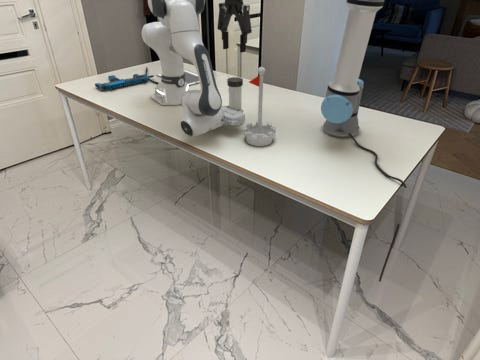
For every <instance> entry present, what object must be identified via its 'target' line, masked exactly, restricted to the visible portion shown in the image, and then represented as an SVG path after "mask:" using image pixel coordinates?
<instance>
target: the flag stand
mask: <svg viewBox="0 0 480 360" xmlns="http://www.w3.org/2000/svg"><path fill="white" fill-rule="evenodd" d="M257 74H258V75H257V76H256V77H254V78H252V79H251V80H250V81H248V84H252V85H253V86H256V87H258V104H257V105H258V108H257V109H258V112H257V121H256V122H255V124H253V123H252V122H249V123H246V124H245V125H246V126H244V127H243V135H244V137H245V141H246V143H248V145H252V146H256V147H263V146H268V145H270V144H272V143H273V138H274V137H275V136H276V127H275V126H273V124H272V123H269V122H267V123H266V124H263V101H264V100H263V95H264V75H265V74H266V68H265V67H263V66H260V67H258V68H257Z"/></svg>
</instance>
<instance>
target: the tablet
mask: <svg viewBox="0 0 480 360" xmlns="http://www.w3.org/2000/svg"><path fill="white" fill-rule="evenodd" d="M184 73H185V76H186V81H185V82H186V83H187V86H189V87H190V86H192V85H197V84H200V82H199V78H198V74H197V73H194V72H192V71H190V70H187V69H184ZM161 74H162V73H158V74H156V76H157V77H160V76H162V75H161Z"/></svg>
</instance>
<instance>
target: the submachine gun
mask: <svg viewBox="0 0 480 360" xmlns="http://www.w3.org/2000/svg"><path fill="white" fill-rule="evenodd" d="M107 77H108V80H109V82H103V83H100V82H96V83H94V86H95V88H97V89H98V90H100V91H107V90H113V91H114V90H115V89H116V88H120V87H125V86H129V85H134V84H138V83H139V84H140V83H145V82H146V83H147V81H150V80H149V78H150V79H151V78H154V77H155V76H154V74H151V75H148V74H147V75H145V73H144V74H138V73H134V74H133V75H132V77H129V78H121V79H120V78H118V77H117V76H116V75H113V74H112V75H108V76H107Z"/></svg>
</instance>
